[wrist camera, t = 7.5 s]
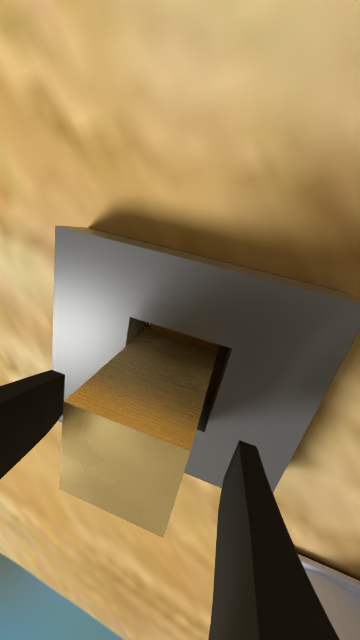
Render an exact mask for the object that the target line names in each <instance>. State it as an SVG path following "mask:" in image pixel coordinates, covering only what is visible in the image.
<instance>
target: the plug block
mask: <svg viewBox="0 0 360 640" xmlns="http://www.w3.org/2000/svg"><path fill="white" fill-rule="evenodd" d="M218 349H219V344H216V343H213V342H209V341H206V340H203V339H200V338H196V337H193V336H190V335H187V334H184V333H180V332H177V331H174V330H171V329H167V328H164V327H161V326H158V325H154V324H151V325H150V326H149V327H147V328H146V329H145V330H144V331H143V332H142V333H141V334H140V335H138V336H137V337H136V338H135V339H134V340H133V341H132V342H130V343H129V344H128V345H127V346H126V347H125V348H124V349H123V350H121V351H120V352H119V353H118V354H117V355H116V356H115V357H113V358H112V359H111V360H110V361H109V362H108V363H107V364H105V365H104V366H103V367H102V368H101V369H100V370H99V371H98V372H96V373H95V374H94V375H93V376H92V377H91V378H90V379H88V380H87V381H86V382H85V383H84V384H83V385H82V386H80V387H79V388H78V389H77V390H76V391H75V392H74V393H73V394H71V395H70V396H69V397H68V398H67V399H66V400H65V401H64V404H63V425H62V446H61V466H60V487H59V489H60V490H63V491H65V492H67V493H69V494H71V495H73V496H75V497H77V498H80V499H82V500H84V501H86V502H88V503H90V504H92V505H95V506H97V507H99V508H101V509H103V510H105V511H107V512H109V513H112V514H114V515H116V516H118V517H120V518H122V519H124V520H126V521H129V522H131V523H133V524H135V525H137V526H139V527H141V528H143V529H146V530H148V531H150V532H152V533H154V534H156V535H158V536H161V537H164V533H165V530H166V527H167V524H168V521H169V518H170V515H171V511H172V508H173V505H174V502H175V499H176V496H177V492H178V489H179V486H180V483H181V480H182V477H183V474H184V470H185V467H186V464H187V461H188V458H189V455H190V451H191V448H192V444H193V440H194V437H195V433H196V430H197V426H198V422H199V419H200V415H201V411H202V408H203V404H204V400H205V397H206V393H207V389H208V386H209V382H210V378H211V375H212V371H213V367H214V364H215V360H216V356H217V353H218Z"/></svg>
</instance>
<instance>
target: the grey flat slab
mask: <svg viewBox="0 0 360 640" xmlns="http://www.w3.org/2000/svg"><path fill="white" fill-rule="evenodd" d="M146 322H148V323H151V324H154V325H158V326H161V327H164V328H167V329H171V330H174V331H177V332H180V333H184V334H187V335H190V336H193V337H196V338H200V339H203V340H206V341H209V342H213V343H216V344H219V345H222V346H225V347H229V351H228V354H227V357H226V360H225V363H224V366H223V369H222V372H221V375H220V378H219V381H218V385H217V388H216V391H215V394H214V397H213V400H212V403H208V402H205V401H204V404H203V408H202V411H201V415H200V419H199V422H198V426H197V430H196V433H195V437H194V440H193V444H192V448H191V451H190V455H189V458H188V461H187V464H186V467H185V470H184V473H186V474H189V475H191V476H193V477H196V478H198V479H201V480H203V481H205V482H208V483H210V484H213V485H215V486H218V487H220V488H222V485H223V479H224V476H225V474H226V471H227V469H228V466H229V464H230V461H231V459H232V456H233V454H234V451H235V449H236V447H237V444H238V442H239V440H241V441H243V442H246V443H249V444H251V445H254V446H256V447H257V449H258V451H259V454H260V457H261V461H262V464H263V467H264V470H265V473H266V476H267V479H268V481H269V484H270V487H271V490H272V492H274V490H275V488H276V486H277V484H278V482H279V480H280V479H281V477H282V475H283V473H284V471H285V469H286V467H287V465H288V463H289V462H290V460H291V458H292V456H293V454H294V452H295V450H296V448H297V447H298V445H299V443H300V441H301V439H302V437H303V435H304V433H305V431H306V430H307V428H308V426H309V424H310V422H311V420H312V418H313V416H314V414H315V413H316V411H317V409H318V407H319V405H320V403H321V401H322V399H323V397H324V396H325V394H326V392H327V390H328V388H329V386H330V384H331V382H332V380H333V379H334V377H335V375H336V373H337V371H338V369H339V367H340V365H341V364H342V362H343V360H344V358H345V356H346V354H347V352H348V350H349V348H350V347H351V345H352V343H353V341H354V339H355V337H356V335H357V333H358V331H359V330H360V299H358V298H356V297H354V296H352V295H351V294H349V293H346V292H342V291H338V290H334V289H330V288H326V287H322V286H318V285H314V284H310V283H306V282H302V281H298V280H294V279H290V278H286V277H282V276H278V275H274V274H270V273H266V272H262V271H258V270H254V269H250V268H246V267H242V266H238V265H234V264H230V263H226V262H222V261H218V260H214V259H210V258H206V257H202V256H198V255H194V254H190V253H186V252H182V251H178V250H174V249H170V248H166V247H162V246H158V245H154V244H150V243H146V242H142V241H138V240H134V239H130V238H126V237H122V236H118V235H114V234H110V233H106V232H102V231H98V230H94V229H90V228H84V227H68V226H55V266H54V312H53V358H52V370H54V371H57V372H59V373H62V374H65V388H64V401H65V400H66V399H67V398H68V397H69V396H70V395H71V394H73V393H74V392H75V391H76V390H77V389H78V388H79V387H80V386H82V385H83V384H84V383H85V382H86V381H87V380H88V379H90V378H91V377H92V376H93V375H94V374H95V373H96V372H98V371H99V370H100V369H101V368H102V367H103V366H104V365H105V364H107V363H108V362H109V361H110V360H111V359H112V358H113V357H115V356H116V355H117V354H118V353H119V352H120V351H121V350H123V349H124V348H125V347H126V346H127V345H128V344H129V343H130V342H132V341H133V340H134V339H135V338H136V337H137V336H138V335H140V334H141V333H142V332H143V331H144V328H145V323H146ZM58 421H60V422H62V423H63V415H62V416H61V417H60V418H59V420H58Z"/></svg>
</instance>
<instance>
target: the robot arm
mask: <svg viewBox="0 0 360 640" xmlns="http://www.w3.org/2000/svg"><path fill="white" fill-rule="evenodd" d="M64 388H65V374H62V373H59V372H57V371H54V370H50V371H46V372H43V373H40V374H37V375H33V376H30V377H27V378H24V379H21V380H18V381H15V382H12V383H9V384H6V385H3V386H0V479H1V478H2V477H3V476H4V475H5V474H6V473H7V472H8V471H9V470H10V469H11V468H13V467H14V466H15V465H16V464H17V463H18V462H19V461H20V460H21V459H22V458H23V457H24V456H25V455H26V454H27V453H28V452H29V451H30V450H31V449H32V448H33V447H34V446H35V445H36V444H37V443H38V442H39V441H40V440H41V439H42V438H43V437H44V436H45V435H46V434H47V433H48V432H49V431H50V429H51V428H52V427H53V426H54V425H55V423H56V422H57V421H58V420H59V418H60V417H61V416H62V415H63V404H64ZM209 640H360V581H359V580H357V579H354V578H352V577H350V576H347V575H345V574H343V573H341V572H338V571H336V570H334V569H331V568H329V567H327V566H325V565H322V564H320V563H318V562H315V561H313V560H311V559H308V558H306V557H304V556H302V555H299V554H297V551H296V549H295V547H294V544H293V542H292V540H291V538H290V535H289V533H288V530H287V528H286V526H285V523H284V521H283V518H282V516H281V513H280V511H279V508H278V506H277V503H276V500H275V498H274V495H273V492H272V490H271V487H270V484H269V481H268V479H267V476H266V473H265V470H264V467H263V464H262V461H261V457H260V454H259V451H258V449H257V447H256V446H254V445H251V444H249V443H246V442H243V441H241V440H239V442H238V444H237V447H236V449H235V451H234V454H233V456H232V459H231V461H230V464H229V466H228V469H227V471H226V474H225V476H224V479H223V485H222V491H221V497H220V503H219V510H218V525H217V541H216V557H215V574H214V591H213V604H212V616H211V625H210V632H209Z"/></svg>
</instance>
